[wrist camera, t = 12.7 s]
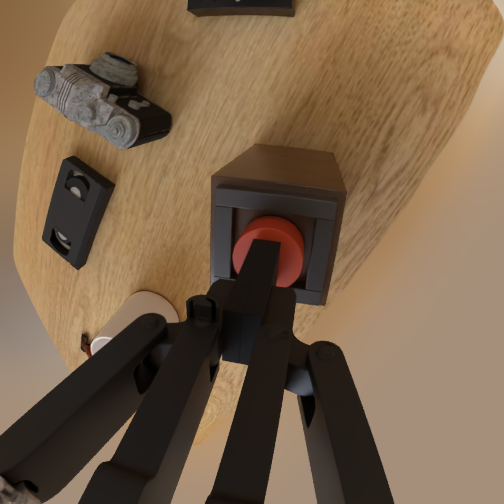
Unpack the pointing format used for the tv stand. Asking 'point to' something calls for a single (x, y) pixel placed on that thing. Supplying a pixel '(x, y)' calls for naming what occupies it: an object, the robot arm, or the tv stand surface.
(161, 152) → the tv stand surface
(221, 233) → the pillar
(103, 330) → the mug
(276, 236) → the press knob
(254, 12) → the dial panel
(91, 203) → the vhs tape
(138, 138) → the camera
